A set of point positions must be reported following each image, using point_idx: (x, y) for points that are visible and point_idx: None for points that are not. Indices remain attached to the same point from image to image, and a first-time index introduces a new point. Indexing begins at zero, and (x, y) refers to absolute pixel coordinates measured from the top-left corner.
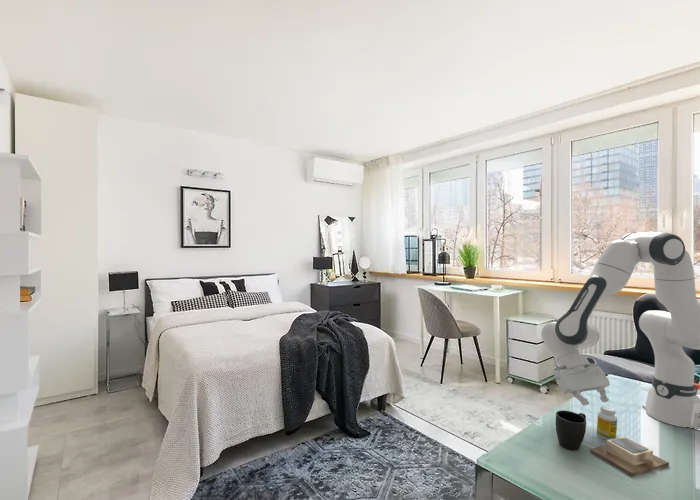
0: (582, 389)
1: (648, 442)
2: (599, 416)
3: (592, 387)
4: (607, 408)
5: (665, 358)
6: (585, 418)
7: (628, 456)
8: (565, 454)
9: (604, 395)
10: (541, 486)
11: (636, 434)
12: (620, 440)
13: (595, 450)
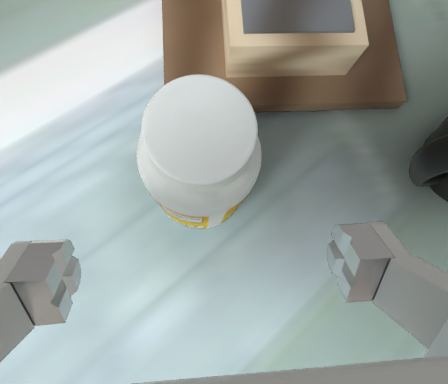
0: (422, 365)
1: (40, 93)
2: (258, 172)
3: (170, 380)
4: (208, 126)
5: None
6: (435, 141)
7: None
8: None
9: (18, 280)
10: None
11: (12, 161)
12: (303, 18)
13: (395, 85)
